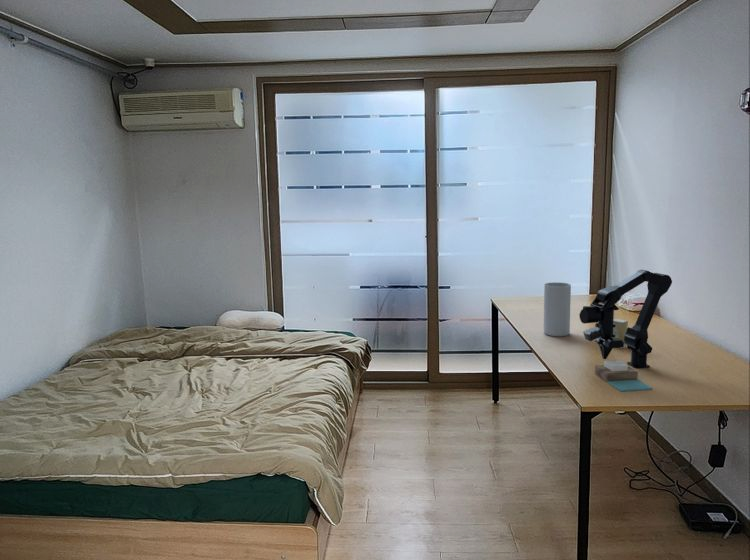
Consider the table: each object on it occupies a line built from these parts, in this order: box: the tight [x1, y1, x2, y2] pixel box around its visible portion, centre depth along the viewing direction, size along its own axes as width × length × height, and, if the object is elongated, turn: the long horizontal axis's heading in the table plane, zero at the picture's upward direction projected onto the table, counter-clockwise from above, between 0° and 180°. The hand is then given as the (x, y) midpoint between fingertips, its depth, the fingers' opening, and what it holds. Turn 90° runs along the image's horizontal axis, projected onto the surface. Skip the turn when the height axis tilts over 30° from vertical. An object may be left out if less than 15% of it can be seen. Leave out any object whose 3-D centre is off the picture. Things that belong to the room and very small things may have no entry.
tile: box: [603, 359, 629, 371], centre depth 228 cm, size 7×6×2 cm
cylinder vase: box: [543, 281, 572, 338], centre depth 293 cm, size 12×12×25 cm
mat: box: [607, 379, 653, 392], centre depth 218 cm, size 10×12×1 cm
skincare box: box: [612, 318, 629, 349], centre depth 269 cm, size 6×4×12 cm
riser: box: [594, 364, 639, 383], centre depth 228 cm, size 10×12×4 cm
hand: (604, 358), depth 237 cm, fingers closed
